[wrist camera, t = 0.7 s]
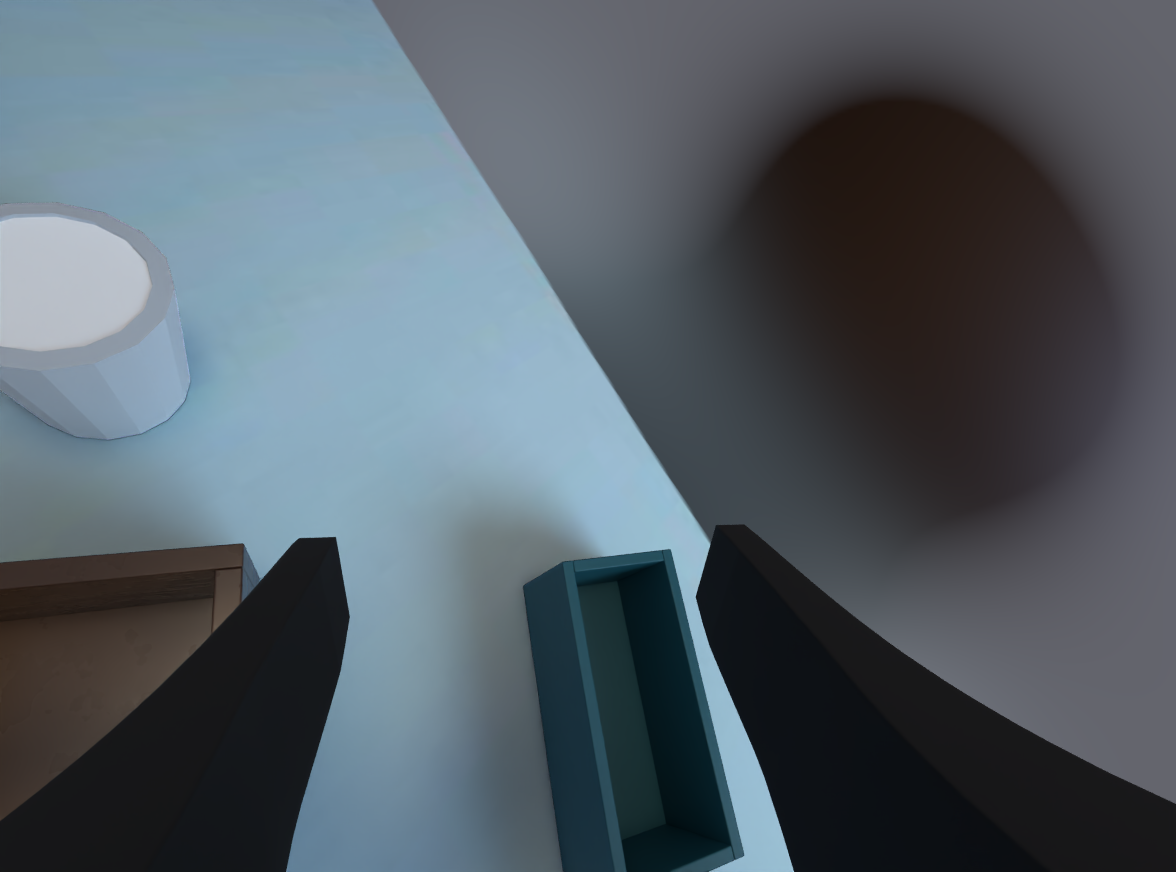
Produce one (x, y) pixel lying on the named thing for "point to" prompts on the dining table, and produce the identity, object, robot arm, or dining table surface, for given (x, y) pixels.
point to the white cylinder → (88, 322)
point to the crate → (98, 646)
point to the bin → (627, 720)
